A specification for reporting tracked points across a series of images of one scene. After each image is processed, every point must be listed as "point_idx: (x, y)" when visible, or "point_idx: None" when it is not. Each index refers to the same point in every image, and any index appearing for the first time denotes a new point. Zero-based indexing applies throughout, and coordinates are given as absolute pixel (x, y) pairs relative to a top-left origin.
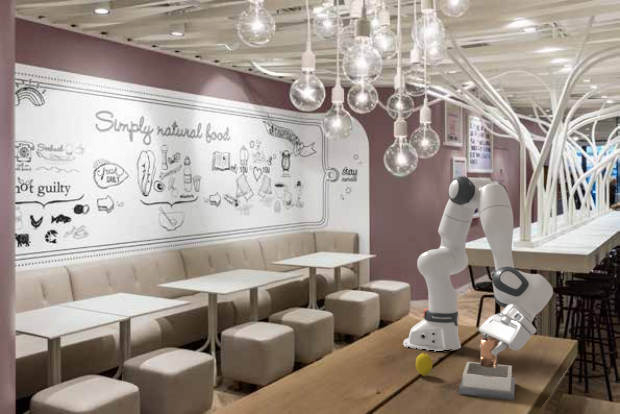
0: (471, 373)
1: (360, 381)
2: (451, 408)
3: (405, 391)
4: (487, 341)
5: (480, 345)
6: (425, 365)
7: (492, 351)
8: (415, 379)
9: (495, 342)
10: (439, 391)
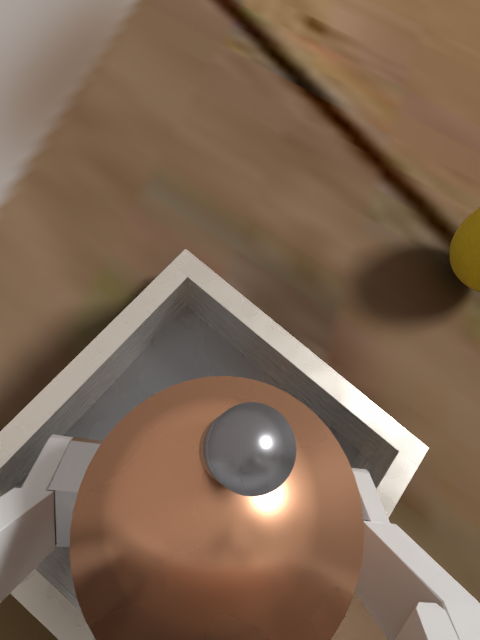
0: (358, 459)
1: (444, 37)
2: (41, 142)
3: (296, 104)
4: (138, 422)
5: (357, 475)
6: (470, 225)
7: (52, 443)
8: (426, 216)
9: (76, 570)
10: (249, 217)
